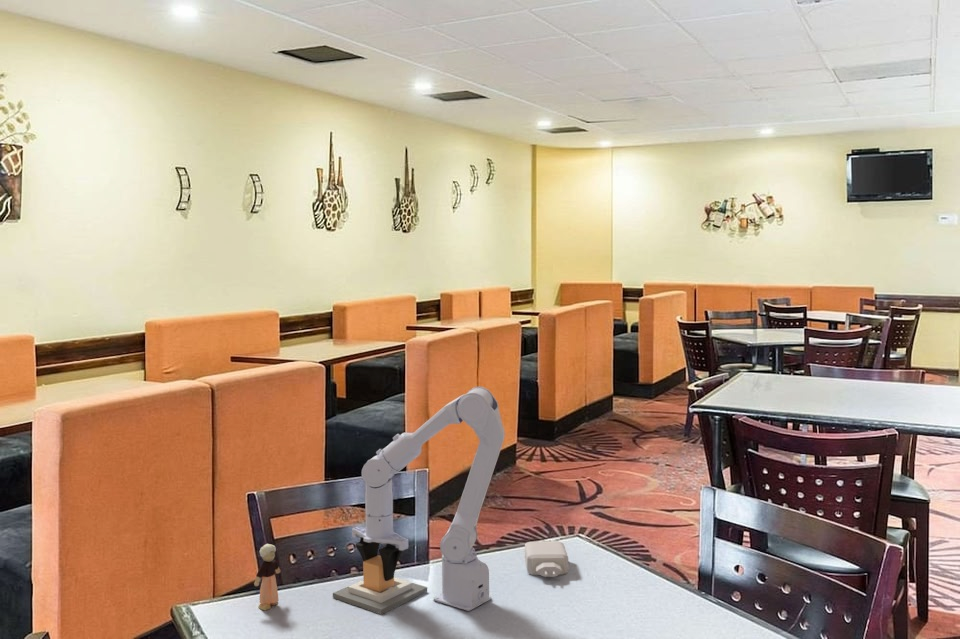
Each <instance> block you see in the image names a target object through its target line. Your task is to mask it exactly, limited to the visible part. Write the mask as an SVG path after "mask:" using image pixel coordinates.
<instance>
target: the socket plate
mask: <svg viewBox="0 0 960 639" xmlns="http://www.w3.org/2000/svg"><path fill="white" fill-rule="evenodd" d="M427 592H428V586H424V585H421V584H418V583H414V582H411V581H408V580H405V579H402V578H397V577H395V576H394V586H391V587H389V588H387V589H385V590H383V591H381V592H377V591H374V590H370V589H367V588H364V579H362V580H359V581H358V582H355V583H353V584H351V585H348V586H345V587H344V588H341V589H339V590H337V591H334V592H332V598H333V599H335V600H338V601H341V602H344V603H347V604H350V605H353V606H355V607H358V608H361V609H363V610H366V611H367V610H368V611H370V612H374V613H377V614H379V615H383V614H386V613H387V612H389V611H392V610H393V609H395V608H397V607H399V606H401V605H403V604H405V603H407V602H409V601H411V600H413V598H414V599H416V598H418V597H420V596H422V595H424V594H426V593H427ZM419 595H420V596H419ZM417 596H418V597H417ZM415 597H416V598H415Z"/></svg>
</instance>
